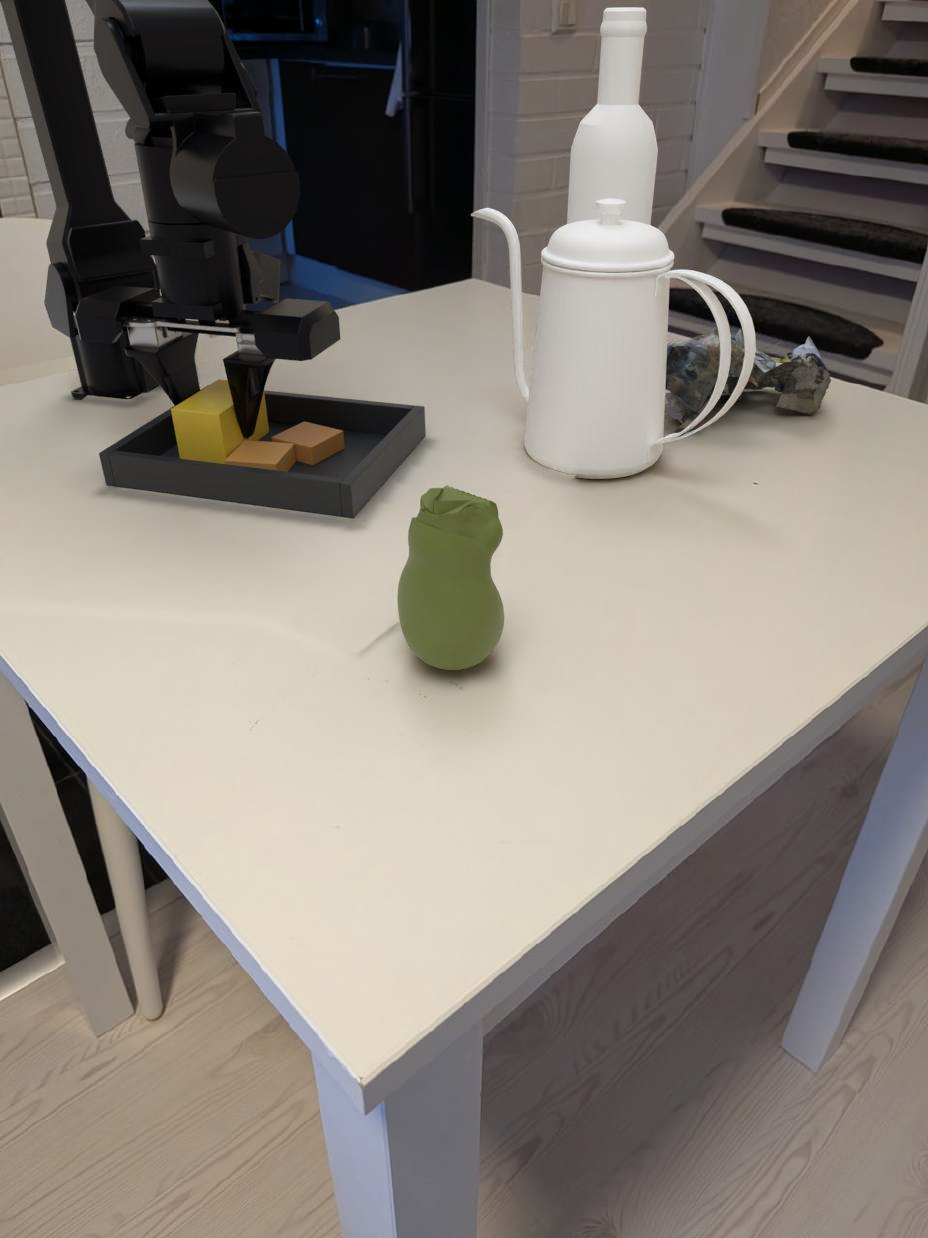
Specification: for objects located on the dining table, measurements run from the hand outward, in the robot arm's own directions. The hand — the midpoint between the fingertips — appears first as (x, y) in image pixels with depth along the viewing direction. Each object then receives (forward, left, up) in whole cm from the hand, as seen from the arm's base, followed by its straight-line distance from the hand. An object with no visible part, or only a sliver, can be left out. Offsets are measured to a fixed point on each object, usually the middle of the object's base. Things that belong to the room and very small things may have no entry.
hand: (224, 433), depth 71 cm
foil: (+38, +22, -2) cm, 44 cm away
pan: (+4, 0, -2) cm, 5 cm away
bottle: (+24, +32, -2) cm, 40 cm away
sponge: (0, 0, -1) cm, 1 cm away
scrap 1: (+4, -2, -2) cm, 5 cm away
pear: (+25, -21, -2) cm, 33 cm away
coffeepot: (+27, +9, -2) cm, 29 cm away
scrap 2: (+6, +2, -2) cm, 7 cm away
